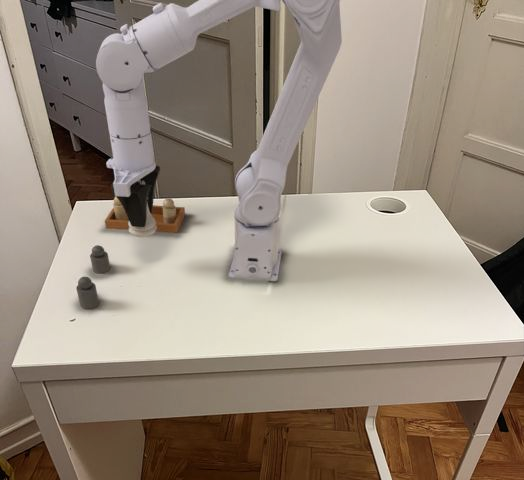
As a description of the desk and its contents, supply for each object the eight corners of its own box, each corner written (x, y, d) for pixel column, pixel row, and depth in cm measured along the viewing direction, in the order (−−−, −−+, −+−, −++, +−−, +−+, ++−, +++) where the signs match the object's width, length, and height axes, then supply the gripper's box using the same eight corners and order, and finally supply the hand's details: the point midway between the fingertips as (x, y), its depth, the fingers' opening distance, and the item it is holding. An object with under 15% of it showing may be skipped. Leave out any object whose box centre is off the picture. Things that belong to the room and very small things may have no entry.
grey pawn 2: (107, 276, 92) (102, 251, 89) (91, 275, 93) (85, 250, 89) (113, 267, 94) (108, 242, 91) (96, 266, 95) (91, 241, 92)
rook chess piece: (161, 234, 89) (156, 186, 84) (134, 240, 88) (126, 192, 82) (151, 222, 92) (146, 174, 87) (125, 227, 91) (117, 180, 85)
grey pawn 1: (95, 310, 86) (89, 283, 82) (77, 308, 86) (71, 282, 83) (101, 299, 88) (96, 273, 84) (84, 298, 88) (78, 271, 85)
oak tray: (177, 235, 103) (176, 225, 102) (106, 230, 104) (104, 220, 103) (185, 216, 108) (184, 207, 107) (118, 212, 109) (116, 202, 108)
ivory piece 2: (175, 226, 105) (173, 202, 101) (162, 225, 105) (160, 201, 102) (178, 220, 106) (176, 196, 103) (165, 219, 106) (163, 195, 103)
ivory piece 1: (126, 223, 105) (123, 198, 102) (114, 222, 105) (110, 198, 102) (130, 216, 107) (126, 193, 104) (118, 216, 107) (114, 192, 104)
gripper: (117, 113, 85) (129, 197, 94) (85, 150, 75) (102, 241, 83) (163, 115, 85) (171, 199, 94) (137, 153, 74) (149, 244, 83)
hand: (141, 219), depth 89 cm, fingers closed on rook chess piece, 3 cm apart
